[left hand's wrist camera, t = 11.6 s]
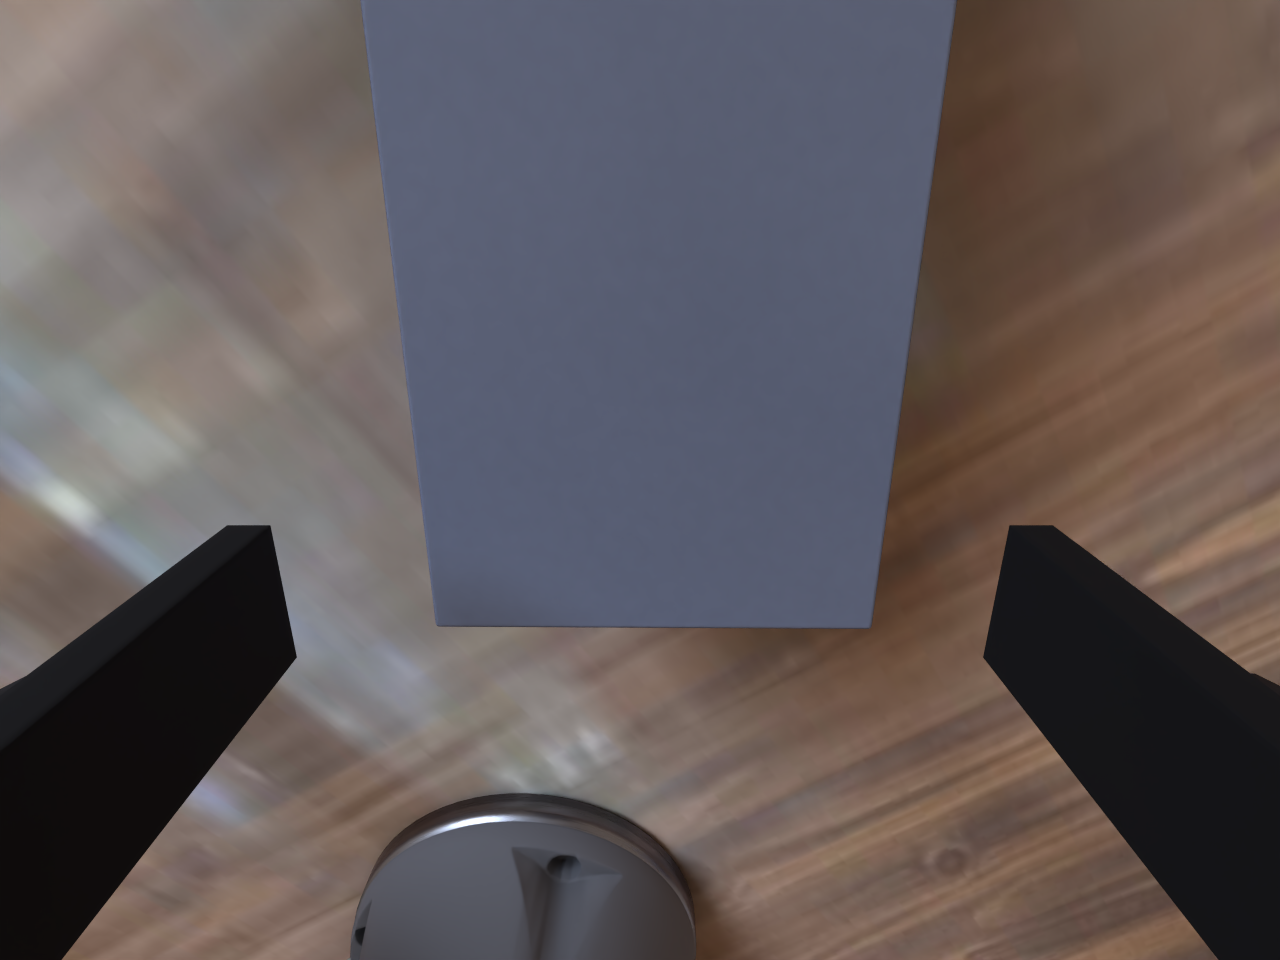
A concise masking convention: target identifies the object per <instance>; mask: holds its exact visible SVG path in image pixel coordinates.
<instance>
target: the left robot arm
mask: <svg viewBox="0 0 1280 960" xmlns="http://www.w3.org/2000/svg"><path fill="white" fill-rule="evenodd" d="M296 658H297V656H296V651H295V646H294V641H293V636H292V631H291V626H290V621H289V616H288V611H287V606H286V601H285V596H284V591H283V586H282V581H281V576H280V571H279V566H278V561H277V556H276V551H275V546H274V541H273V536H272V531H271V526H270V525H227V526H226V527H225V528H223V529H222V530H221V531H219V532H218V533H217V534H215V535H214V536H213V537H211V538H210V539H208V540H207V541H206V542H204V543H203V544H202V545H200V546H199V547H198V548H196V549H195V550H194V551H192V552H191V553H190V554H188V555H187V556H186V557H184V558H183V559H182V560H180V561H179V562H178V563H176V564H175V565H174V566H172V567H171V568H170V569H168V570H167V571H166V572H164V573H163V574H162V575H160V576H159V577H158V578H156V579H155V580H154V581H152V582H151V583H150V584H148V585H147V586H146V587H144V588H143V589H142V590H140V591H139V592H138V593H136V594H135V595H134V596H132V597H131V598H130V599H128V600H127V601H126V602H124V603H123V604H122V605H120V606H119V607H118V608H116V609H115V610H114V611H112V612H111V613H110V614H108V615H107V616H106V617H104V618H103V619H102V620H100V621H99V622H98V623H96V624H95V625H94V626H92V627H91V628H90V629H88V630H87V631H86V632H84V633H83V634H82V635H80V636H79V637H78V638H76V639H75V640H74V641H72V642H71V643H70V644H68V645H67V646H66V647H64V648H63V649H62V650H60V651H59V652H58V653H56V654H55V655H54V656H52V657H51V658H50V659H48V660H47V661H46V662H44V663H43V664H42V665H40V666H39V667H38V668H36V669H35V670H34V671H32V672H31V673H30V674H28V675H27V676H25V677H23V678H21V679H19V680H17V681H15V682H13V683H11V684H9V685H7V686H5V687H3V688H1V689H0V960H62V958H63V957H64V956H65V955H66V953H67V952H68V951H69V949H70V948H71V947H72V946H73V944H74V943H75V942H76V940H77V939H78V938H79V937H80V935H81V934H82V933H83V931H84V930H85V929H86V928H87V926H88V925H89V924H90V922H91V921H92V920H93V919H94V917H95V916H96V915H97V913H98V912H99V911H100V910H101V908H102V907H103V906H104V904H105V903H106V902H107V901H108V899H109V898H110V897H111V895H112V894H113V893H114V892H115V890H116V889H117V888H118V886H119V885H120V884H121V883H122V881H123V880H124V879H125V877H126V876H127V875H128V874H129V872H130V871H131V870H132V868H133V867H134V866H135V865H136V863H137V862H138V861H139V859H140V858H141V857H142V856H143V854H144V853H145V852H146V850H147V849H148V848H149V847H150V845H151V844H152V843H153V841H154V840H155V839H156V838H157V836H158V835H159V834H160V832H161V831H162V830H163V829H164V827H165V826H166V825H167V823H168V822H169V821H170V820H171V818H172V817H173V816H174V814H175V813H176V812H177V811H178V809H179V808H180V807H181V805H182V804H183V803H184V802H185V800H186V799H187V798H188V796H189V795H190V794H191V793H192V791H193V790H194V789H195V787H196V786H197V785H198V784H199V782H200V781H201V780H202V778H203V777H204V776H205V775H206V773H207V772H208V771H209V769H210V768H211V767H212V766H213V764H214V763H215V762H216V760H217V759H218V758H219V757H220V755H221V754H222V753H223V751H224V750H225V749H226V748H227V746H228V745H229V744H230V742H231V741H232V740H233V739H234V737H235V736H236V735H237V733H238V732H239V731H240V730H241V728H242V727H243V726H244V724H245V723H246V722H247V721H248V719H249V718H250V717H251V715H252V714H253V713H254V712H255V710H256V709H257V708H258V706H259V705H260V704H261V703H262V701H263V700H264V699H265V697H266V696H267V695H268V694H269V692H270V691H271V690H272V688H273V687H274V686H275V685H276V683H277V682H278V681H279V679H280V678H281V677H282V676H283V674H284V673H285V672H286V670H287V669H288V668H289V667H290V665H291V664H292V663H293V661H294V660H295V659H296ZM983 658H984V659H985V660H986V661H987V663H988V664H989V665H990V667H991V668H992V669H993V670H994V672H995V673H996V674H997V676H998V677H999V678H1000V679H1001V681H1002V682H1003V683H1004V685H1005V686H1006V687H1007V688H1008V690H1009V691H1010V692H1011V694H1012V695H1013V696H1014V697H1015V699H1016V700H1017V701H1018V703H1019V704H1020V705H1021V706H1022V708H1023V709H1024V710H1025V712H1026V713H1027V714H1028V715H1029V717H1030V718H1031V719H1032V721H1033V722H1034V723H1035V724H1036V726H1037V727H1038V728H1039V730H1040V731H1041V732H1042V733H1043V735H1044V736H1045V737H1046V739H1047V740H1048V741H1049V742H1050V744H1051V745H1052V746H1053V748H1054V749H1055V750H1056V751H1057V753H1058V754H1059V755H1060V757H1061V758H1062V759H1063V760H1064V762H1065V763H1066V764H1067V766H1068V767H1069V768H1070V769H1071V771H1072V772H1073V773H1074V775H1075V776H1076V777H1077V778H1078V780H1079V781H1080V782H1081V784H1082V785H1083V786H1084V787H1085V789H1086V790H1087V791H1088V793H1089V794H1090V795H1091V796H1092V798H1093V799H1094V800H1095V802H1096V803H1097V804H1098V805H1099V807H1100V808H1101V809H1102V811H1103V812H1104V813H1105V814H1106V816H1107V817H1108V818H1109V820H1110V821H1111V822H1112V823H1113V825H1114V826H1115V827H1116V829H1117V830H1118V831H1119V832H1120V834H1121V835H1122V836H1123V838H1124V839H1125V840H1126V841H1127V843H1128V844H1129V845H1130V847H1131V848H1132V849H1133V850H1134V852H1135V853H1136V854H1137V856H1138V857H1139V858H1140V859H1141V861H1142V862H1143V863H1144V865H1145V866H1146V867H1147V868H1148V870H1149V871H1150V872H1151V874H1152V875H1153V876H1154V877H1155V879H1156V880H1157V881H1158V883H1159V884H1160V885H1161V886H1162V888H1163V889H1164V890H1165V892H1166V893H1167V894H1168V895H1169V897H1170V898H1171V899H1172V901H1173V902H1174V903H1175V904H1176V906H1177V907H1178V908H1179V910H1180V911H1181V912H1182V913H1183V915H1184V916H1185V917H1186V919H1187V920H1188V921H1189V922H1190V924H1191V925H1192V926H1193V928H1194V929H1195V930H1196V931H1197V933H1198V934H1199V935H1200V937H1201V938H1202V939H1203V940H1204V942H1205V943H1206V944H1207V946H1208V947H1209V948H1210V949H1211V951H1212V952H1213V953H1214V955H1215V956H1216V957H1217V958H1218V960H1280V686H1279V685H1277V684H1275V683H1273V682H1271V681H1269V680H1267V679H1265V678H1263V677H1261V676H1259V675H1257V674H1250V673H1249V672H1248V671H1246V670H1245V669H1244V668H1242V667H1241V666H1240V665H1238V664H1237V663H1236V662H1234V661H1233V660H1232V659H1230V658H1229V657H1228V656H1226V655H1225V654H1224V653H1222V652H1221V651H1220V650H1218V649H1217V648H1216V647H1214V646H1213V645H1212V644H1210V643H1209V642H1208V641H1206V640H1205V639H1204V638H1202V637H1201V636H1200V635H1198V634H1197V633H1196V632H1194V631H1193V630H1192V629H1190V628H1189V627H1188V626H1186V625H1185V624H1184V623H1182V622H1181V621H1180V620H1178V619H1177V618H1176V617H1174V616H1173V615H1172V614H1170V613H1169V612H1168V611H1166V610H1165V609H1164V608H1162V607H1161V606H1160V605H1158V604H1157V603H1156V602H1154V601H1153V600H1152V599H1150V598H1149V597H1148V596H1146V595H1145V594H1144V593H1142V592H1141V591H1140V590H1138V589H1137V588H1136V587H1134V586H1133V585H1132V584H1130V583H1129V582H1128V581H1126V580H1125V579H1124V578H1122V577H1121V576H1120V575H1118V574H1117V573H1116V572H1114V571H1113V570H1112V569H1110V568H1109V567H1108V566H1106V565H1105V564H1104V563H1102V562H1101V561H1100V560H1098V559H1097V558H1096V557H1094V556H1093V555H1092V554H1090V553H1089V552H1088V551H1086V550H1085V549H1084V548H1082V547H1081V546H1080V545H1078V544H1077V543H1075V542H1074V541H1073V540H1071V539H1070V538H1069V537H1067V536H1066V535H1065V534H1063V533H1062V532H1061V531H1059V530H1058V529H1057V528H1055V527H1054V526H1053V525H1010V526H1009V531H1008V536H1007V541H1006V546H1005V551H1004V556H1003V561H1002V566H1001V571H1000V576H999V581H998V586H997V591H996V596H995V601H994V606H993V611H992V616H991V621H990V626H989V631H988V636H987V641H986V646H985V651H984V656H983ZM695 958H696V932H695V917H694V907H693V901H692V897H691V893H690V890H689V888H688V885H687V883H686V880H685V878H684V876H683V875H682V873H681V871H680V869H679V868H678V866H677V865H676V863H675V862H674V861H673V859H672V858H671V857H670V856H669V854H668V853H667V852H666V851H665V850H664V849H663V848H662V847H661V846H660V845H659V844H658V843H657V842H656V841H654V840H653V839H652V838H651V837H650V836H649V835H647V834H646V833H645V832H643V831H642V830H640V829H639V828H638V827H636V826H634V825H633V824H631V823H629V822H628V821H626V820H624V819H622V818H620V817H618V816H616V815H614V814H612V813H610V812H608V811H605V810H603V809H600V808H598V807H595V806H592V805H589V804H586V803H582V802H579V801H575V800H571V799H566V798H562V797H555V796H549V795H540V794H498V795H489V796H483V797H476V798H472V799H468V800H464V801H460V802H456V803H454V804H451V805H448V806H445V807H442V808H440V809H438V810H435V811H433V812H431V813H429V814H427V815H425V816H424V817H422V818H420V819H418V820H416V821H415V822H414V823H412V824H411V825H409V826H408V827H407V828H405V829H404V830H403V831H402V832H401V833H399V834H398V835H397V836H396V837H395V838H394V839H393V840H392V841H391V842H390V843H389V845H388V846H387V847H386V848H385V849H384V851H383V852H382V854H381V855H380V857H379V858H378V860H377V862H376V864H375V866H374V868H373V870H372V872H371V875H370V877H369V879H368V882H367V884H366V887H365V889H364V892H363V894H362V896H361V899H360V902H359V905H358V908H357V912H356V917H355V922H354V926H353V931H352V937H351V953H350V958H349V959H347V960H695Z"/></svg>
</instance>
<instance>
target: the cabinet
mask: <svg viewBox="0 0 1280 960" xmlns="http://www.w3.org/2000/svg"><path fill="white" fill-rule="evenodd" d="M956 4H957V0H361V8H362V16H363V25H364V33H365V41H366V49H367V58H368V66H369V74H370V83H371V91H372V99H373V107H374V116H375V124H376V132H377V140H378V149H379V157H380V165H381V173H382V182H383V190H384V198H385V206H386V215H387V223H388V231H389V240H390V248H391V256H392V264H393V273H394V281H395V289H396V297H397V306H398V314H399V322H400V330H401V339H402V347H403V355H404V363H405V372H406V380H407V388H408V397H409V405H410V413H411V421H412V430H413V438H414V446H415V454H416V463H417V471H418V479H419V487H420V496H421V504H422V512H423V521H424V529H425V537H426V545H427V554H428V562H429V570H430V578H431V587H432V595H433V603H434V611H435V620H436V624H437V626H449V627H630V628H811V629H869V628H871V626H872V619H873V612H874V605H875V597H876V590H877V583H878V575H879V568H880V561H881V553H882V546H883V539H884V531H885V524H886V517H887V509H888V502H889V495H890V487H891V480H892V473H893V465H894V458H895V451H896V443H897V436H898V429H899V421H900V414H901V407H902V399H903V392H904V385H905V377H906V370H907V363H908V355H909V348H910V341H911V333H912V326H913V319H914V311H915V304H916V297H917V290H918V282H919V275H920V268H921V260H922V253H923V246H924V238H925V231H926V224H927V216H928V209H929V202H930V194H931V187H932V180H933V172H934V165H935V158H936V150H937V143H938V136H939V128H940V121H941V114H942V106H943V99H944V92H945V84H946V77H947V70H948V62H949V55H950V48H951V40H952V33H953V26H954V18H955V11H956Z"/></svg>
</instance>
